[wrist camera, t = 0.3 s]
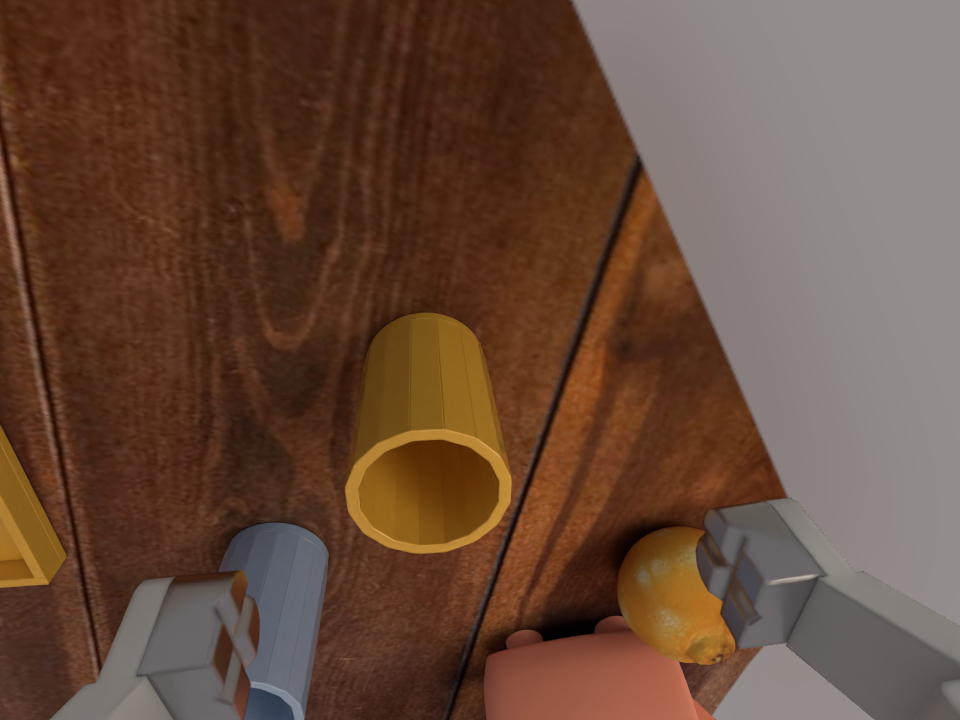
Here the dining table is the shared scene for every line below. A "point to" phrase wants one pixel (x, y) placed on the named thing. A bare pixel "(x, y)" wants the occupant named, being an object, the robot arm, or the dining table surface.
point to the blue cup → (281, 613)
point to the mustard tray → (24, 528)
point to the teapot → (586, 679)
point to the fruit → (672, 599)
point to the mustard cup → (426, 439)
